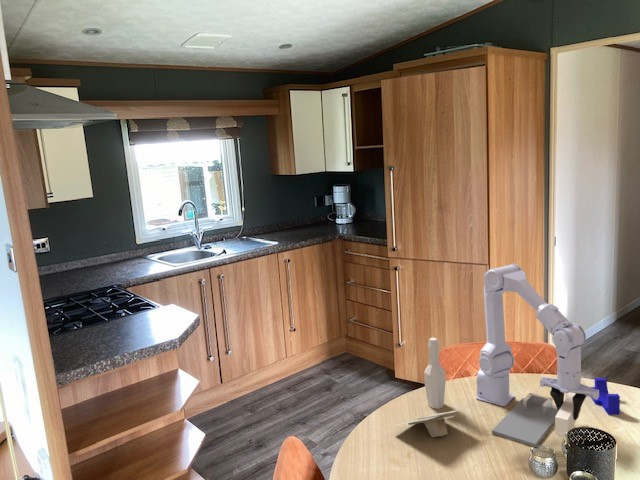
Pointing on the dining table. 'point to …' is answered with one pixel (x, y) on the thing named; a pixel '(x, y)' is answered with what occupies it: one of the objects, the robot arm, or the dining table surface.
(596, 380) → the blue stepped block
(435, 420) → the tilted plate on foot
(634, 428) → the dining table surface
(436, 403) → the low poly bottle
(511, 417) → the grey base plate
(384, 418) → the dining table surface
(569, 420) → the white rail
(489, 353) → the robot arm
